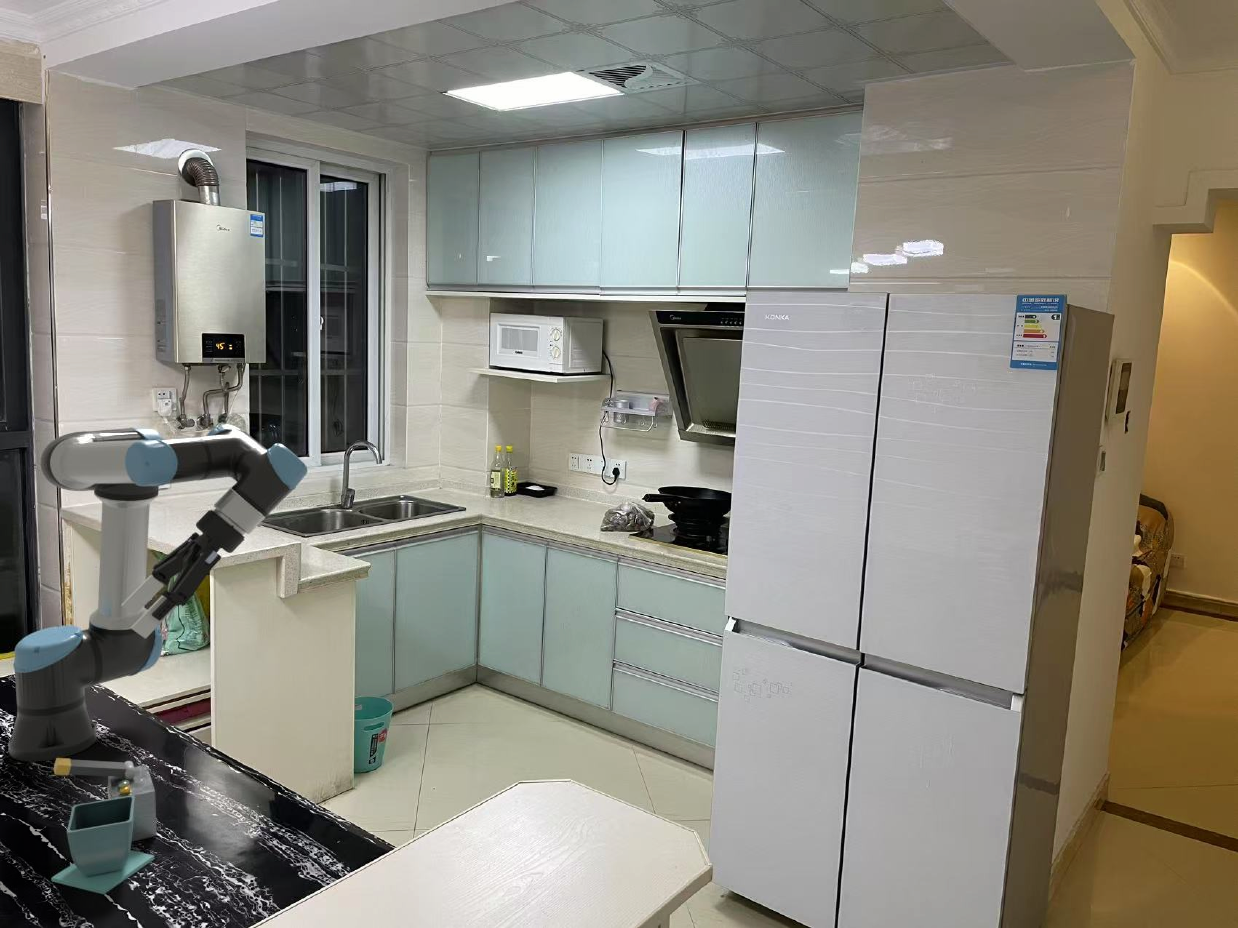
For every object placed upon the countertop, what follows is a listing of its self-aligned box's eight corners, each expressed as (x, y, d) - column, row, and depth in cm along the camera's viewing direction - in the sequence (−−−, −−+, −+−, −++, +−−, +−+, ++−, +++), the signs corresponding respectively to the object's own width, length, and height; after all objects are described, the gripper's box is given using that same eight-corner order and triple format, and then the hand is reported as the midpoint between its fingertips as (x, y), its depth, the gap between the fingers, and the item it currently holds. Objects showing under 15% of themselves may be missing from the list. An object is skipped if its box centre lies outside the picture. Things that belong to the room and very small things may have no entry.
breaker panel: (148, 806, 165) (146, 760, 163) (156, 835, 156) (154, 786, 154) (108, 815, 161) (106, 768, 160) (115, 845, 152) (112, 795, 151)
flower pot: (68, 887, 140) (65, 832, 138) (75, 857, 148) (72, 804, 146) (134, 875, 143) (132, 821, 142) (137, 846, 151) (135, 794, 150)
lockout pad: (104, 847, 152) (104, 844, 152) (154, 859, 149) (154, 855, 149) (51, 881, 142) (51, 877, 142) (103, 894, 139) (103, 890, 139)
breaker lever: (134, 761, 161) (56, 756, 155) (136, 770, 158) (57, 766, 151) (131, 770, 161) (53, 765, 155) (134, 779, 158) (54, 775, 151)
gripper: (263, 551, 147) (162, 657, 141) (231, 522, 168) (142, 613, 162) (227, 522, 144) (122, 629, 137) (198, 495, 164) (106, 588, 158)
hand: (132, 621), depth 149 cm, fingers open, 13 cm apart
